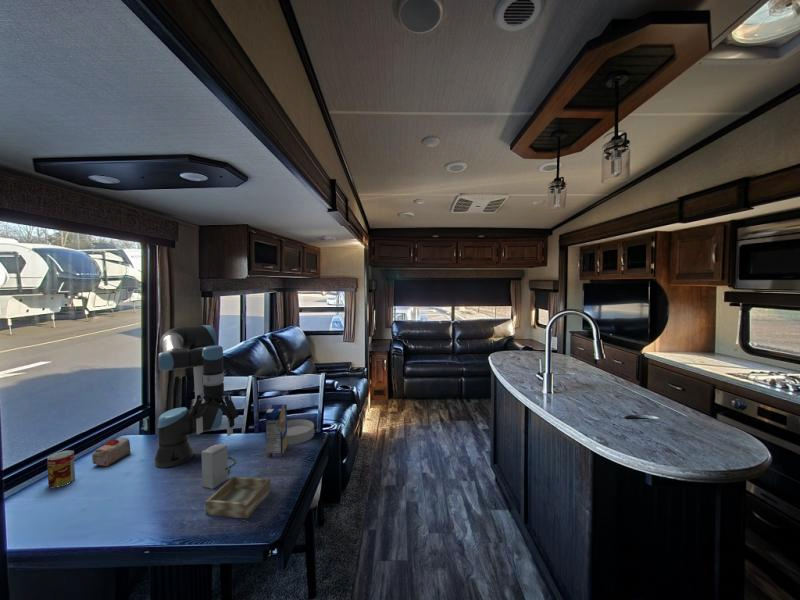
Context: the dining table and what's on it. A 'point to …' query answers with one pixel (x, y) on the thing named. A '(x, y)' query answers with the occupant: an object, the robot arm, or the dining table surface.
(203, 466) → the skincare box
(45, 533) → the dining table surface
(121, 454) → the food item
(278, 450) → the beverage box
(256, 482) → the birch box
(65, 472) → the canned food
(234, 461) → the extension cord
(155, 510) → the dining table surface
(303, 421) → the dish
